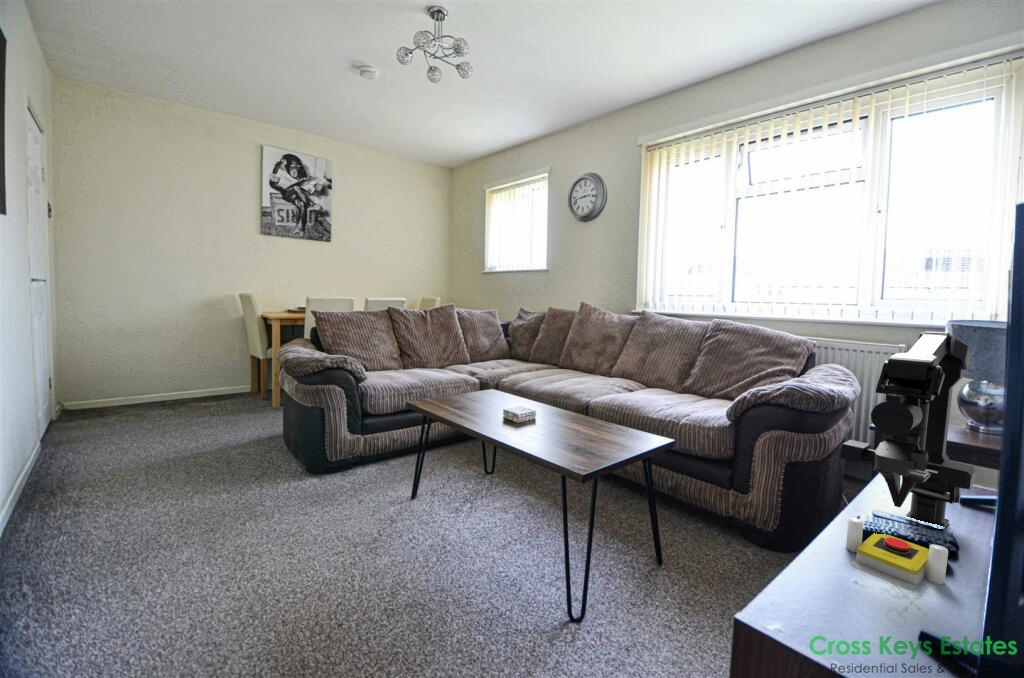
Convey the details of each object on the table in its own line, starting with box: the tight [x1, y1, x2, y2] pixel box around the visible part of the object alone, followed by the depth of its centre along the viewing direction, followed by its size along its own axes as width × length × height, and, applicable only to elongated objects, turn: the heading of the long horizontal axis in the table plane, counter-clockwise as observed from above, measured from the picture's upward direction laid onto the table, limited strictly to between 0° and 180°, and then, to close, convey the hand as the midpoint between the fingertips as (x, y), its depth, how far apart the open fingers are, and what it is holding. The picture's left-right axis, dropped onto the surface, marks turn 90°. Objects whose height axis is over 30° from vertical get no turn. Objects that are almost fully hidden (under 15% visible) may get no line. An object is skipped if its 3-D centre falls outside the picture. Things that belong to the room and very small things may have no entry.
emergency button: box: [850, 532, 930, 591], centre depth 86 cm, size 9×4×15 cm
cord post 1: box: [845, 517, 864, 554], centre depth 91 cm, size 2×2×6 cm
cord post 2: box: [925, 544, 949, 585], centre depth 81 cm, size 2×2×6 cm
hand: (897, 506), depth 85 cm, fingers closed
